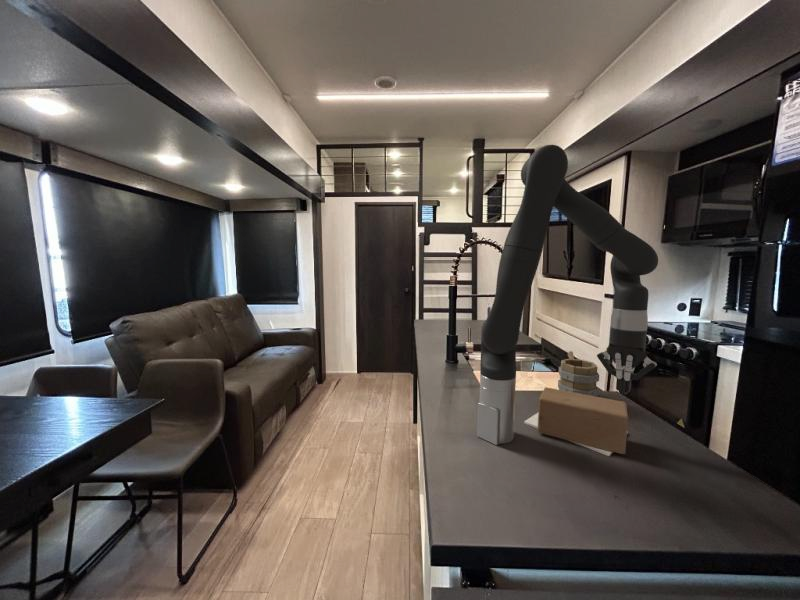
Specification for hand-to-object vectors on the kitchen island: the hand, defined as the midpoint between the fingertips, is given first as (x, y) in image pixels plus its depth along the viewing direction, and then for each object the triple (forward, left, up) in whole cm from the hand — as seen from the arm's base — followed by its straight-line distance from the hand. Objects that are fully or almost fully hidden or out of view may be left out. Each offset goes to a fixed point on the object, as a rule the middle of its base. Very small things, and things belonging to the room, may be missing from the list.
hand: (623, 392), depth 83 cm
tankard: (+22, +19, -14) cm, 32 cm away
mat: (0, +11, -14) cm, 18 cm away
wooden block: (-1, -2, -8) cm, 9 cm away
